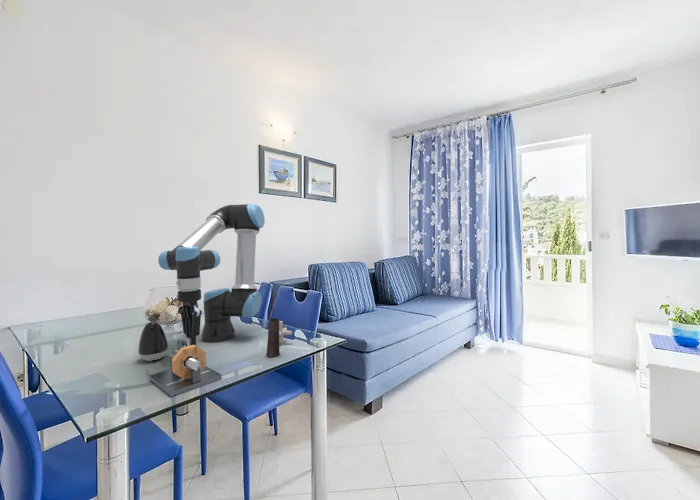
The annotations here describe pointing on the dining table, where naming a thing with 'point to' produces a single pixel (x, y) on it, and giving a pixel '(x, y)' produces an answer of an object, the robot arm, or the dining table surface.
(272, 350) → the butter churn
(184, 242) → the robot arm
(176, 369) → the ring
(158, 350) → the black dome
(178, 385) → the pipe stand
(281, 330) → the pipe connector
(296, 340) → the dining table surface
